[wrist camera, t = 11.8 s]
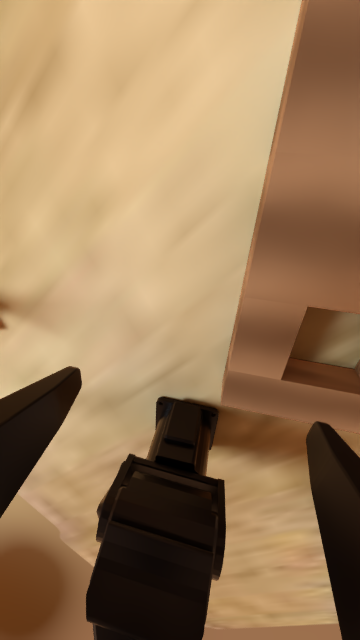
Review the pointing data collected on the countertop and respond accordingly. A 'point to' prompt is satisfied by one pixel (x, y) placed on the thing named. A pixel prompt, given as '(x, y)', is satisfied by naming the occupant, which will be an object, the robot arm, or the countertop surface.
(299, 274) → the hole block
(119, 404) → the countertop surface
